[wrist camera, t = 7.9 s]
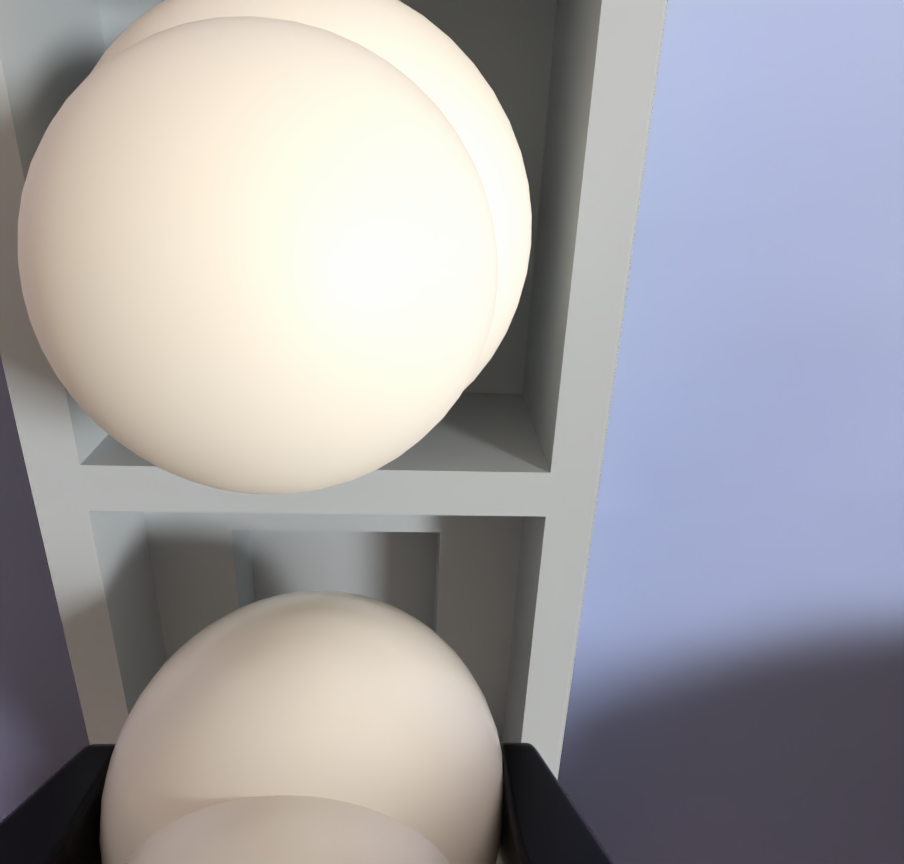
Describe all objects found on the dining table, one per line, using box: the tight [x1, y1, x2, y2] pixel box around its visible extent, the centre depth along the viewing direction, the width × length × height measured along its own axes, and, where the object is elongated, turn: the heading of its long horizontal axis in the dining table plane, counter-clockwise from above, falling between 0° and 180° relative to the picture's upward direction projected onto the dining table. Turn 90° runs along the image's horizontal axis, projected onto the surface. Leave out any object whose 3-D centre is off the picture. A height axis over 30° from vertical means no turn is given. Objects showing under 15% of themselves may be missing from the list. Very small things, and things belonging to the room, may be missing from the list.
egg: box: [99, 590, 504, 864], centre depth 8 cm, size 4×4×6 cm
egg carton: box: [0, 0, 668, 780], centre depth 11 cm, size 7×25×8 cm, turn 178°
